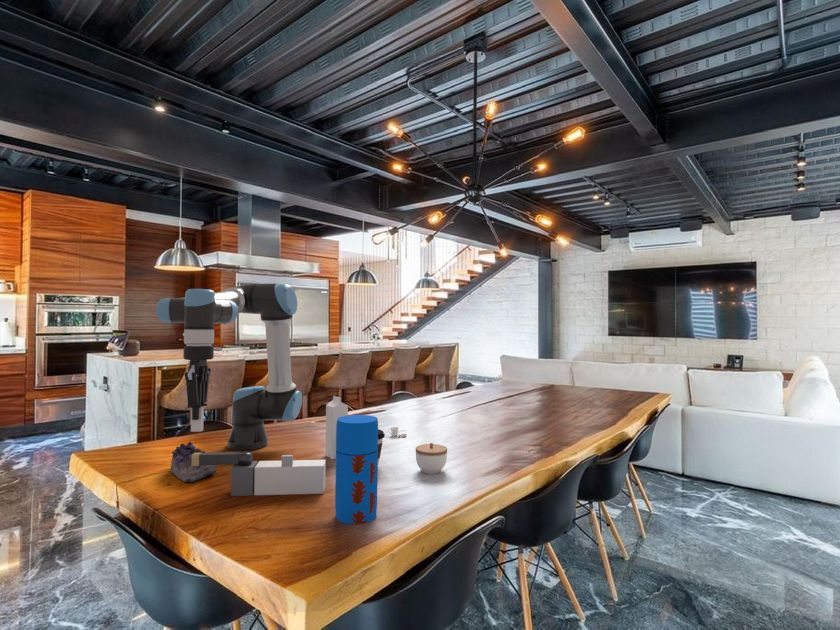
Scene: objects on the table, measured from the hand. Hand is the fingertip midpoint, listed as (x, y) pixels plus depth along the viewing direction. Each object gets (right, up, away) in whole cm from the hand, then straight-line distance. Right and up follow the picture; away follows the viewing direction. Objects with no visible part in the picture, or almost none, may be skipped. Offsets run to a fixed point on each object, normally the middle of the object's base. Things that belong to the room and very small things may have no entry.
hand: (197, 430), depth 128 cm
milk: (+30, -21, +45) cm, 58 cm away
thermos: (+45, -20, -7) cm, 50 cm away
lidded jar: (+65, -21, +29) cm, 74 cm away
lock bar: (+4, -12, +8) cm, 14 cm away
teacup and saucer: (+51, -22, +73) cm, 92 cm away
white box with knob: (+20, -20, +9) cm, 30 cm away
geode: (-14, -20, +23) cm, 33 cm away
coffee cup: (+44, -21, +33) cm, 58 cm away
